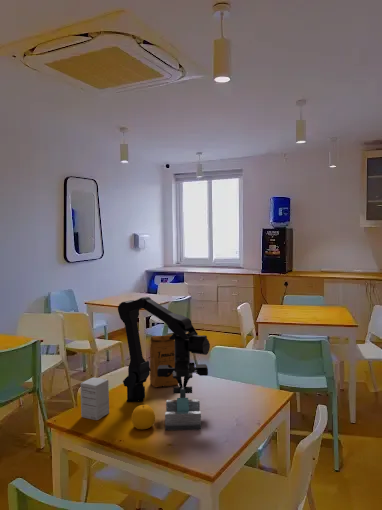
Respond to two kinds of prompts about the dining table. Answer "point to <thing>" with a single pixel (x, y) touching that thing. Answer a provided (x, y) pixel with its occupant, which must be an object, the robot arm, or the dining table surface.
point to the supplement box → (94, 398)
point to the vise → (183, 420)
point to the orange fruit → (143, 417)
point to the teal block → (182, 404)
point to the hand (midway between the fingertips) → (182, 393)
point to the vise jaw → (172, 404)
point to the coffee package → (162, 360)
